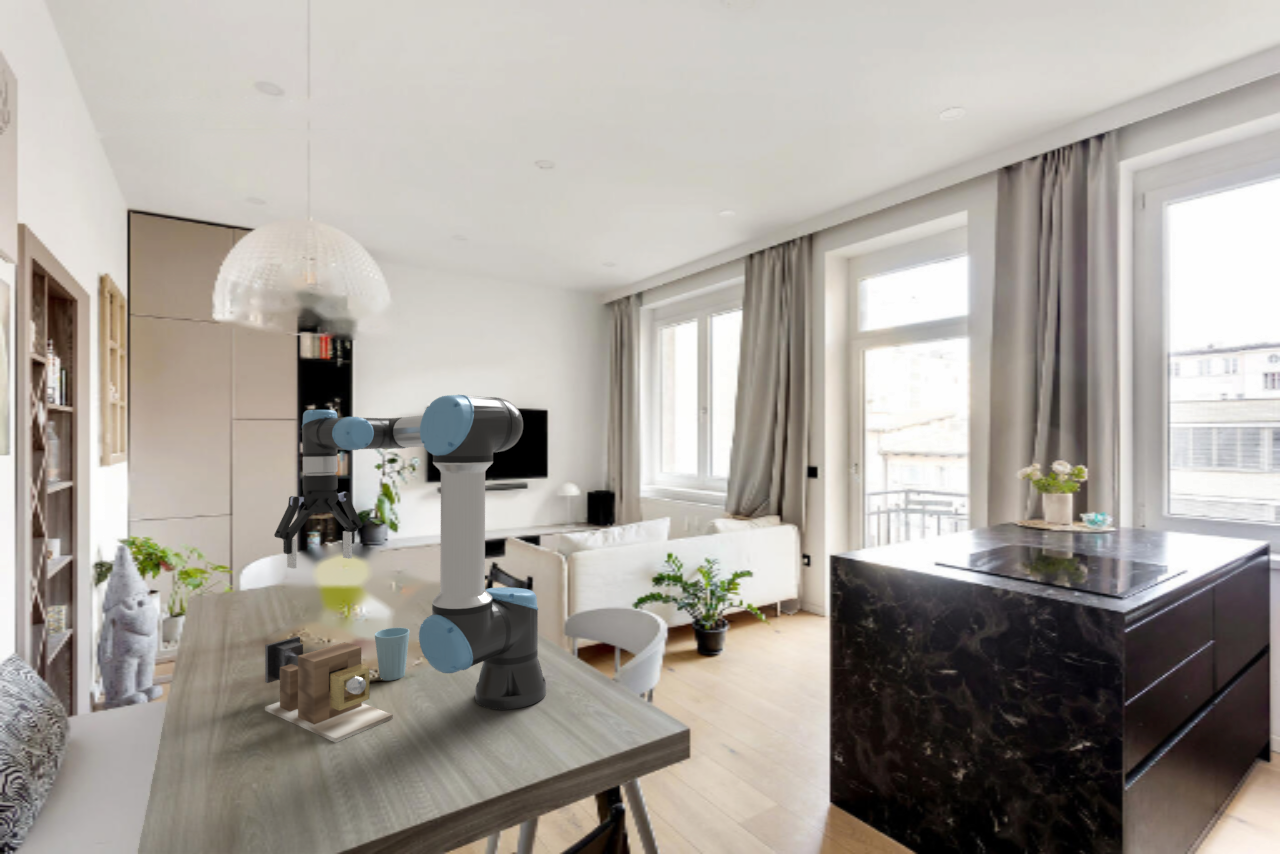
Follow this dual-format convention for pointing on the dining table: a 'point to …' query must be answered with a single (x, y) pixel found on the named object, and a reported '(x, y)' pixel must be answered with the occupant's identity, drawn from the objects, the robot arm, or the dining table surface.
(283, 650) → the shaft
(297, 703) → the wooden assembly fixture
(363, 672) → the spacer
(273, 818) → the dining table surface
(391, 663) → the cup
